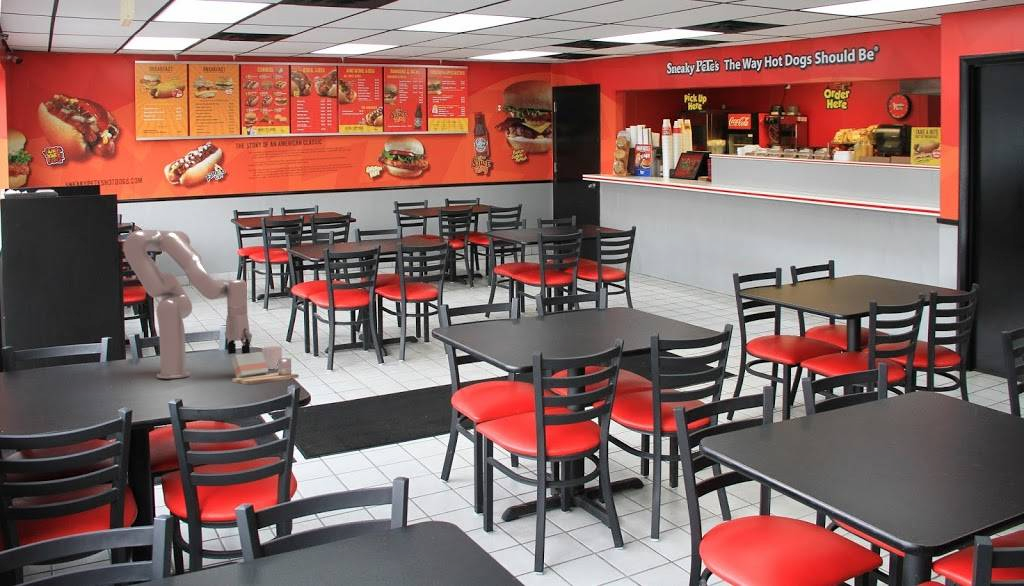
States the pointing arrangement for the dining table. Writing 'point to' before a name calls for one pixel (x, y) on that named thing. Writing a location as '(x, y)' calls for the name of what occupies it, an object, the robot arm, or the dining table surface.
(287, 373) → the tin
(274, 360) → the pink cup
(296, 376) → the wooden board
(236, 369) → the carton
